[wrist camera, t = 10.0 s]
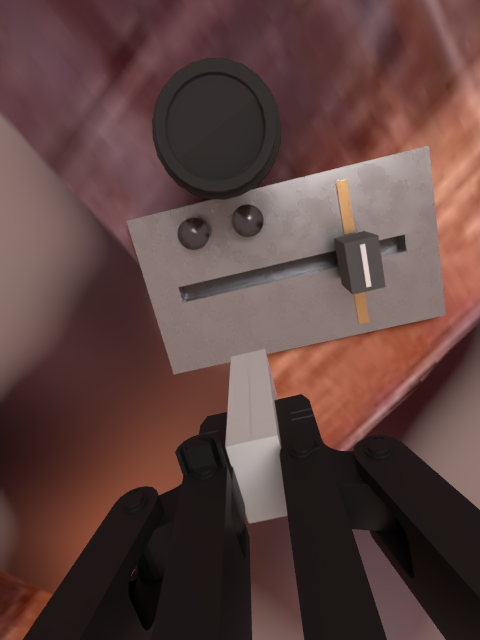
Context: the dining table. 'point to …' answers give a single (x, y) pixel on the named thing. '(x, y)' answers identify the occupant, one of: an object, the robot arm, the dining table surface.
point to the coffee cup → (216, 128)
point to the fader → (360, 262)
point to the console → (291, 261)
